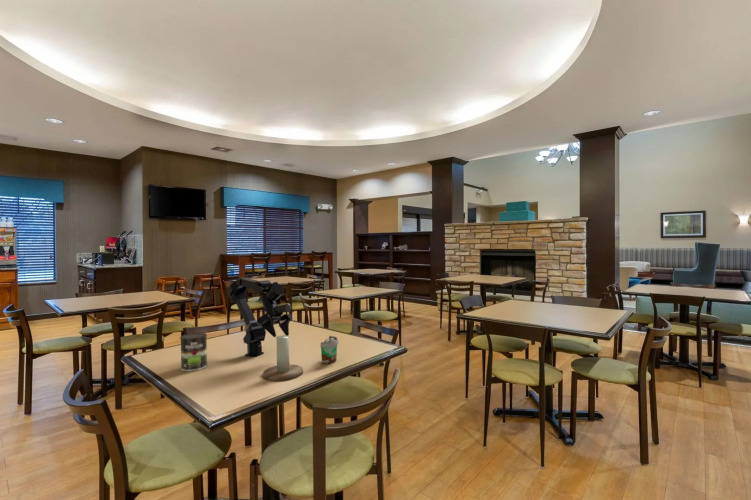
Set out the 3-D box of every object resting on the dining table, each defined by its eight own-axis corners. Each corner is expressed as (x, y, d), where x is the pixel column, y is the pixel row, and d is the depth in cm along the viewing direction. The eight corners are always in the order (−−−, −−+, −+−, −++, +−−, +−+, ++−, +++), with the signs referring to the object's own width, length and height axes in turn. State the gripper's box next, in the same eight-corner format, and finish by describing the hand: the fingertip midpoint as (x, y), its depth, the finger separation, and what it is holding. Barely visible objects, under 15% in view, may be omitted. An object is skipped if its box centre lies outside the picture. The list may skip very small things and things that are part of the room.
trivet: (254, 377, 145) (254, 374, 145) (282, 365, 159) (281, 362, 159) (284, 383, 137) (284, 380, 137) (311, 370, 152) (310, 367, 152)
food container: (334, 365, 157) (333, 343, 157) (320, 365, 158) (320, 342, 158) (342, 357, 169) (342, 336, 169) (329, 356, 170) (329, 335, 170)
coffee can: (207, 368, 155) (207, 336, 155) (180, 373, 151) (180, 339, 150) (206, 362, 164) (206, 331, 164) (181, 366, 160) (180, 334, 160)
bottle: (275, 373, 146) (275, 338, 145) (278, 368, 151) (277, 335, 150) (288, 372, 146) (287, 338, 146) (290, 368, 151) (289, 335, 151)
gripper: (270, 295, 155) (282, 328, 150) (295, 297, 172) (307, 327, 167) (251, 307, 158) (262, 340, 153) (277, 308, 175) (288, 338, 170)
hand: (281, 336), depth 161 cm, fingers open, 9 cm apart
